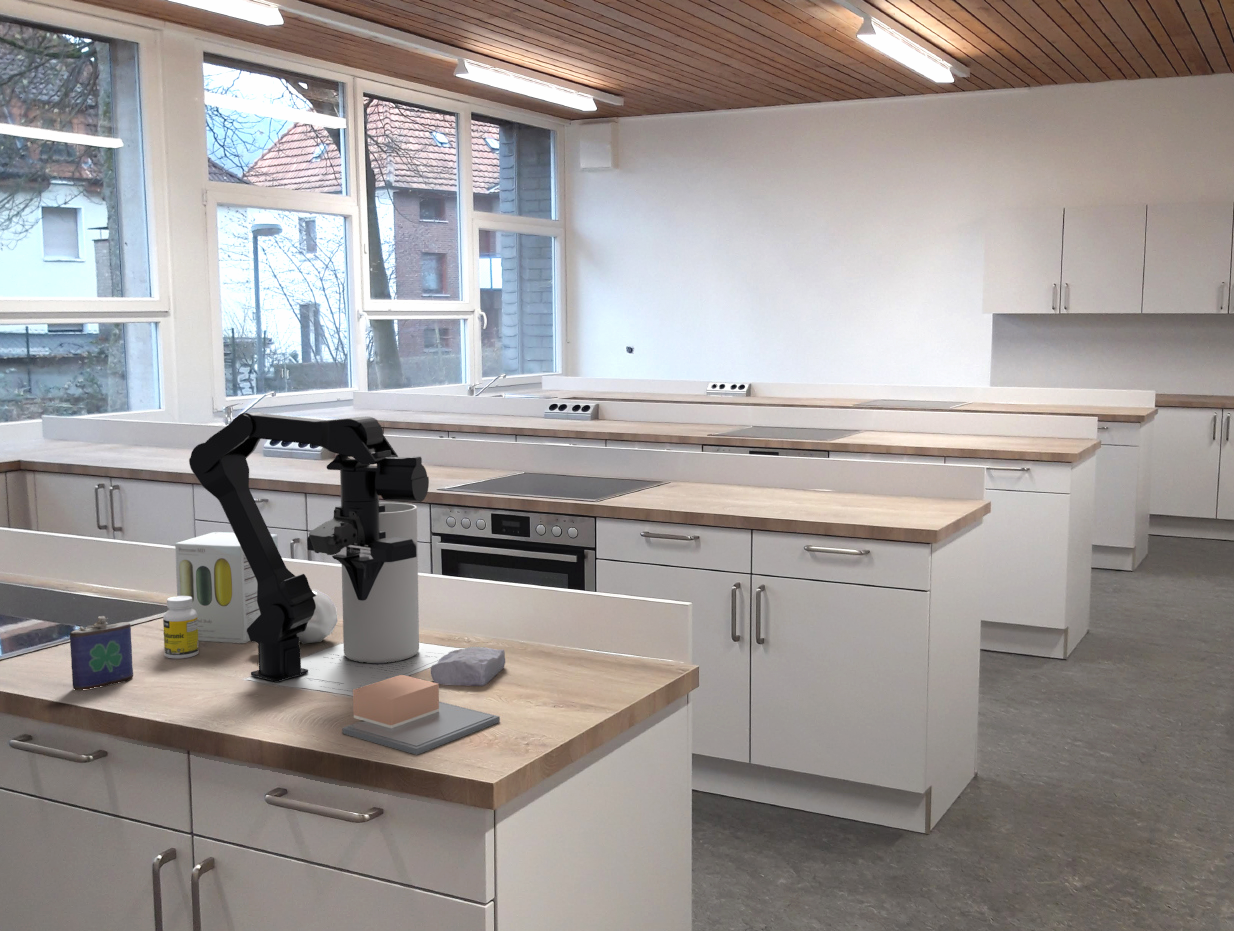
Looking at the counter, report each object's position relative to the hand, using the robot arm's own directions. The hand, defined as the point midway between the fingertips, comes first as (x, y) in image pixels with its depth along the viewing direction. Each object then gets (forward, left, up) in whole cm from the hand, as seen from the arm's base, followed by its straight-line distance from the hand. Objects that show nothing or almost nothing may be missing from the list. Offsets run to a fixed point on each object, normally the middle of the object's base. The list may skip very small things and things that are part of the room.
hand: (362, 600), depth 180 cm
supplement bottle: (-37, -7, -13) cm, 40 cm away
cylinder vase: (-10, +13, -13) cm, 21 cm away
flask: (-32, -24, -13) cm, 42 cm away
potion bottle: (-26, +9, -13) cm, 30 cm away
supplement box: (-43, +7, -13) cm, 46 cm away
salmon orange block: (+14, -10, -10) cm, 20 cm away
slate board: (+23, -10, -13) cm, 28 cm away
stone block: (+10, +12, -14) cm, 21 cm away
